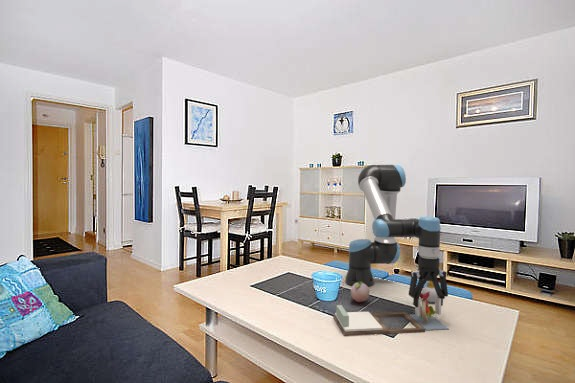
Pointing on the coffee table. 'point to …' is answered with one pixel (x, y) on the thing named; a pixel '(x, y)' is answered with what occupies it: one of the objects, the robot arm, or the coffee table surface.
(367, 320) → the sliding cover
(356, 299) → the decorative fruit
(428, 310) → the bird rattle
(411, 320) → the puzzle board
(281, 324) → the coffee table surface
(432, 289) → the perfume bottle
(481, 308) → the coffee table surface
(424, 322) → the slate mat
